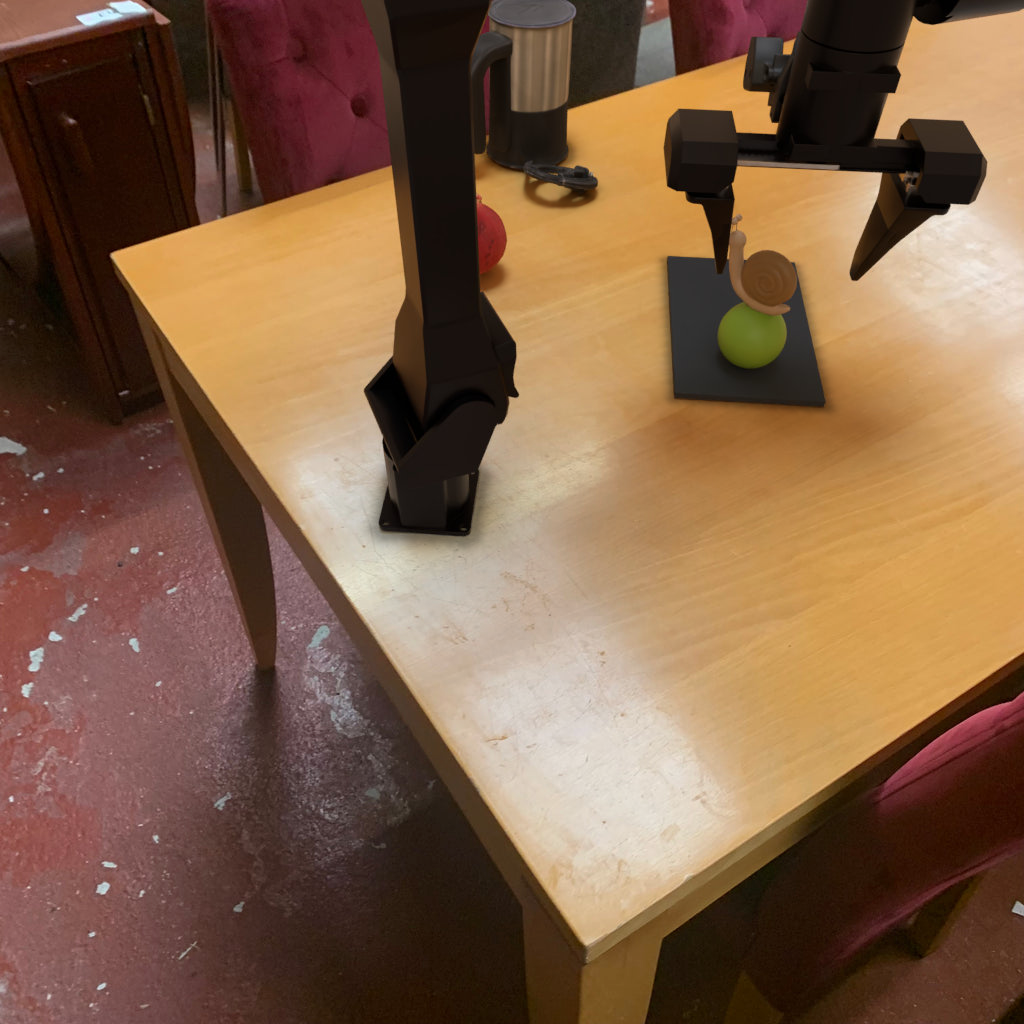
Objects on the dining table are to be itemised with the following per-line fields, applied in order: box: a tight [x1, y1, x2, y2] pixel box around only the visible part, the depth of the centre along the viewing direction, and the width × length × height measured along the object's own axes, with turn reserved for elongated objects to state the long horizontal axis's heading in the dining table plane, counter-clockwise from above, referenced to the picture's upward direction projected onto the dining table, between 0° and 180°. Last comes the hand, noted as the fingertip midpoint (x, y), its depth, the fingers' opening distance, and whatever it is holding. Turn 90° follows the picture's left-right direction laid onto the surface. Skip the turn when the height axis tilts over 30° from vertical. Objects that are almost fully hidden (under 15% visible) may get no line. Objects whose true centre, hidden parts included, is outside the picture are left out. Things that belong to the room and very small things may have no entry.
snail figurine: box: [718, 213, 797, 369], centre depth 70 cm, size 5×6×12 cm
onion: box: [476, 192, 508, 276], centre depth 81 cm, size 6×6×8 cm
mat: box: [666, 255, 827, 408], centre depth 78 cm, size 20×12×1 cm, turn 175°
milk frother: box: [471, 0, 599, 194], centre depth 92 cm, size 14×16×15 cm
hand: (785, 274), depth 62 cm, fingers open, 9 cm apart
